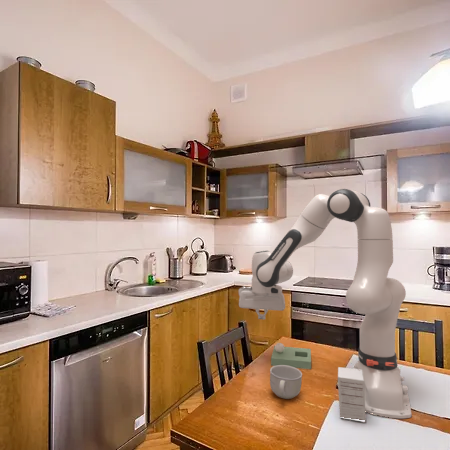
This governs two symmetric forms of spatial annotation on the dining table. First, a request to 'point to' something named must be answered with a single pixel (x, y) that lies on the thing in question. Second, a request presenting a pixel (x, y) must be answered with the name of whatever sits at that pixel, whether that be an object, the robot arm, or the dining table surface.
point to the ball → (279, 347)
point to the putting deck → (292, 357)
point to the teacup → (285, 381)
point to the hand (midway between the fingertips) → (261, 318)
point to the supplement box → (351, 393)
